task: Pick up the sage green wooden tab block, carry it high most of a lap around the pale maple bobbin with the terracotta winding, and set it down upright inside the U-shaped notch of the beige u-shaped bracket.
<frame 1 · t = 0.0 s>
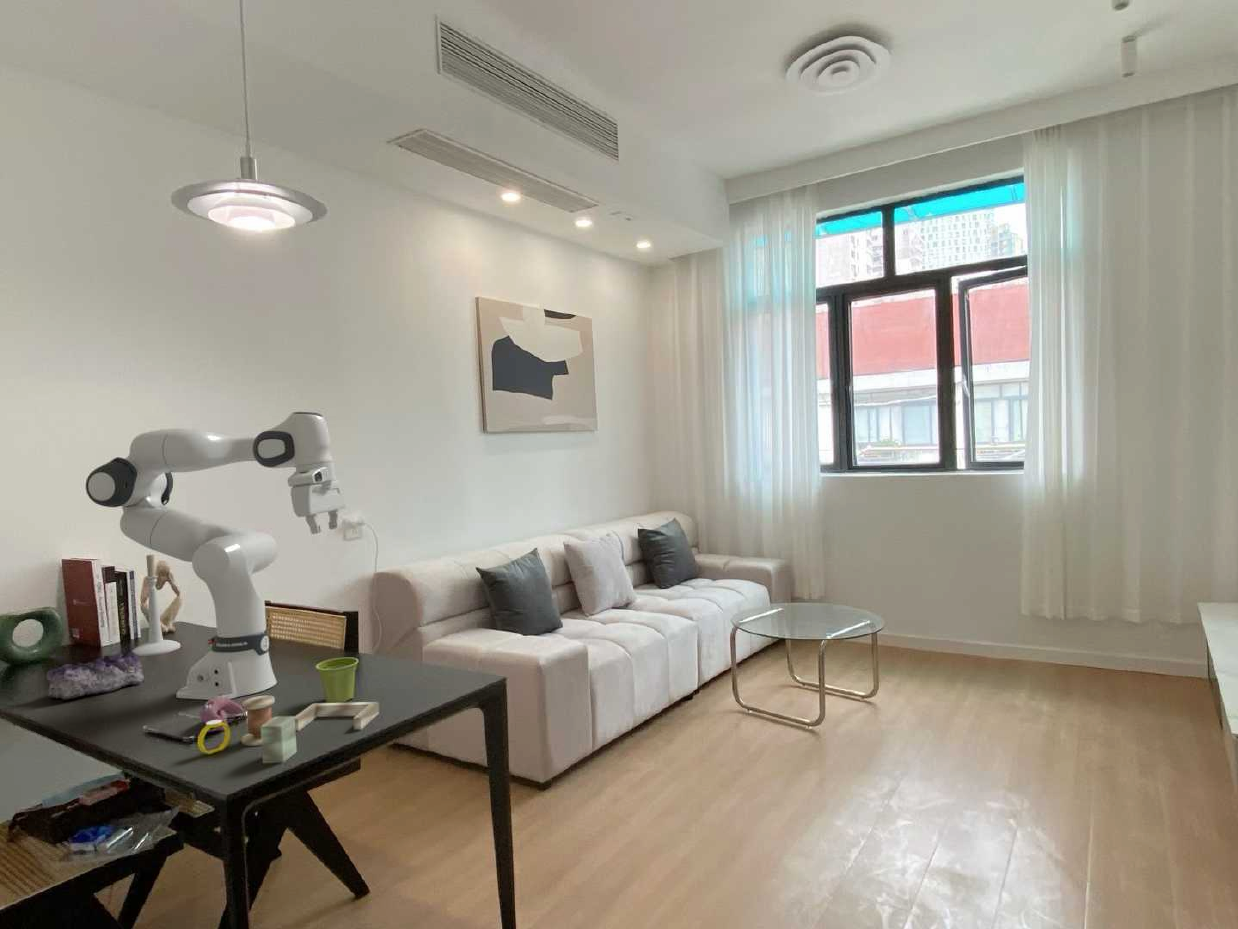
hand: (325, 531, 184), 39 cm above the table, fingers open, 8 cm apart
bobbin: (260, 739, 153), on the table
candlestick: (156, 650, 230), on the table
plant pot: (339, 700, 175), on the table
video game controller: (222, 725, 163), on the table
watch: (215, 753, 147), on the table
beige u-shaped bracket: (335, 723, 160), on the table
tab block: (280, 757, 143), on the table
geode: (98, 692, 191), on the table
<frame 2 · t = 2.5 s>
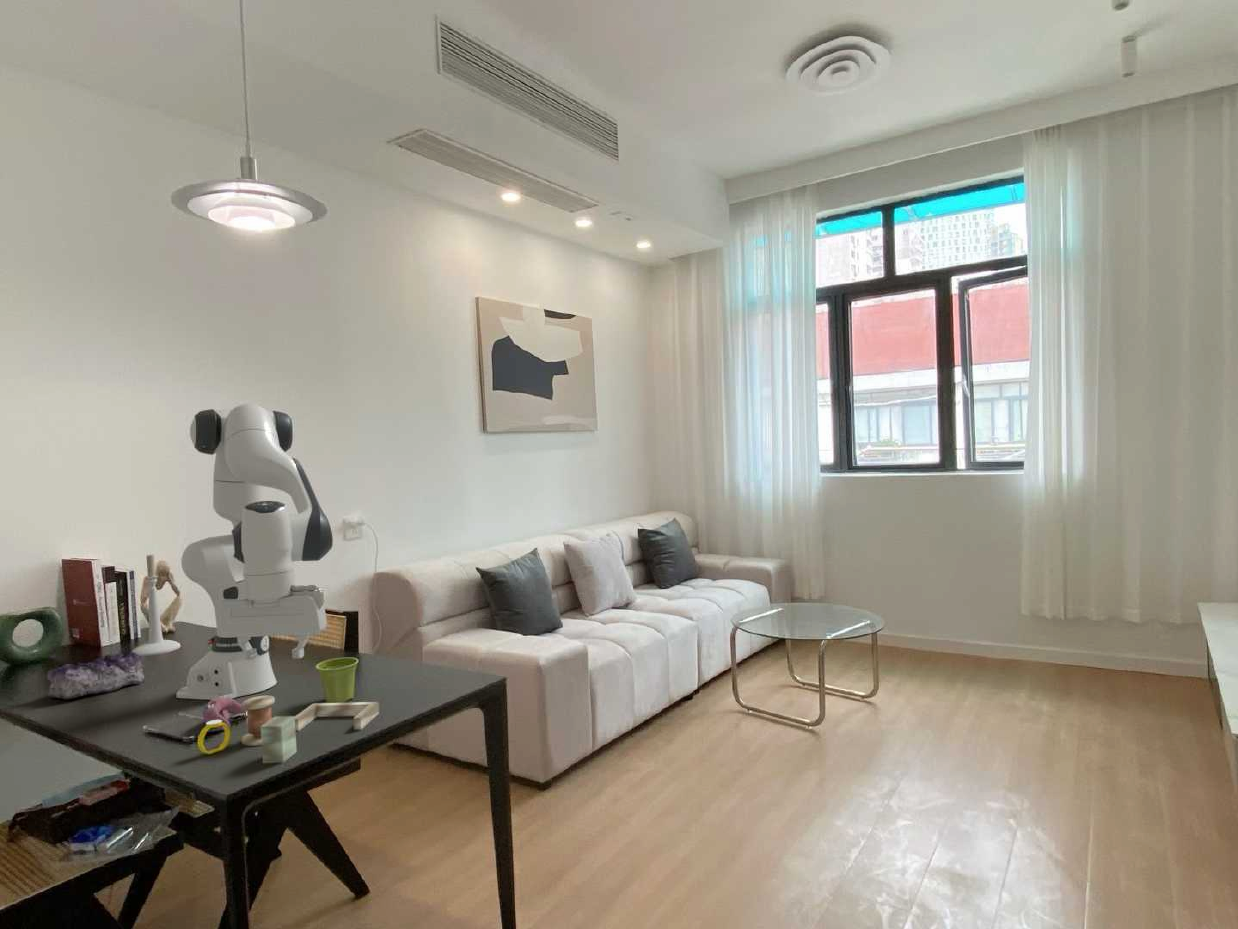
hand: (274, 658, 142), 19 cm above the table, fingers open, 8 cm apart
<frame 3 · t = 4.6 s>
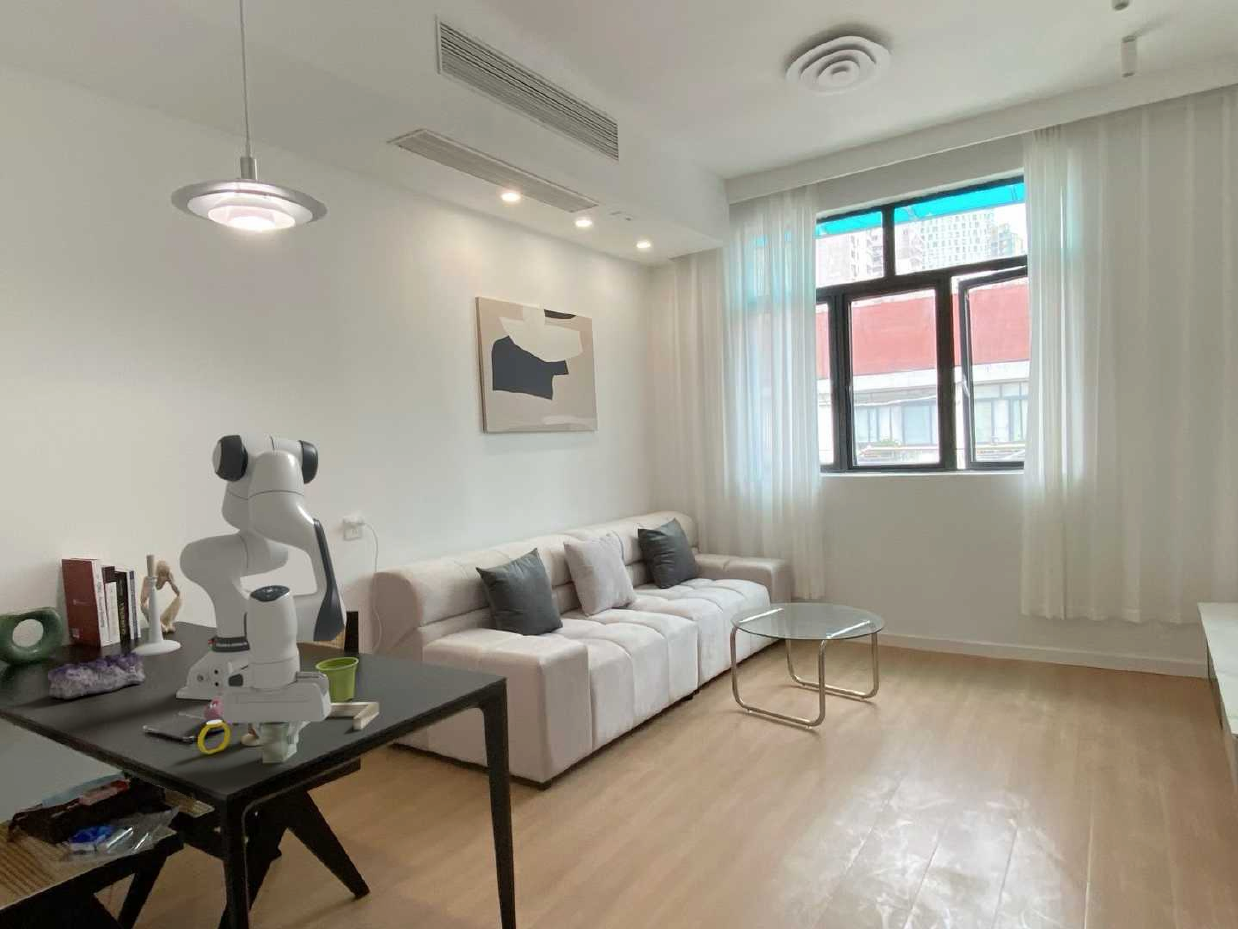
hand: (279, 743, 143), 3 cm above the table, fingers closed on tab block, 4 cm apart
tab block: (280, 757, 143), on the table, touching gripper
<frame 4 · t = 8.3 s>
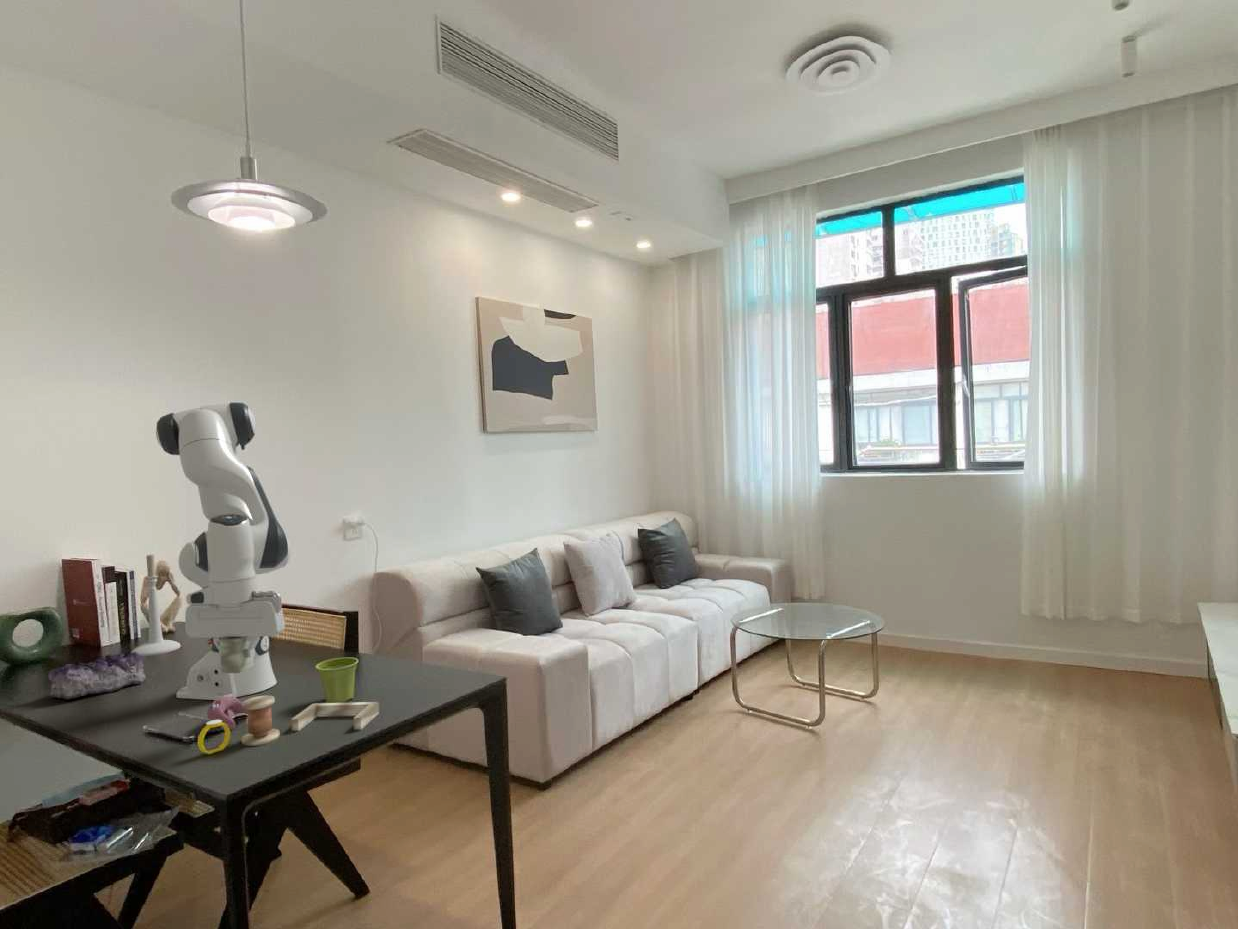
hand: (237, 657, 157), 16 cm above the table, fingers closed on tab block, 4 cm apart
tab block: (237, 669, 157), point 13 cm above the table, touching gripper
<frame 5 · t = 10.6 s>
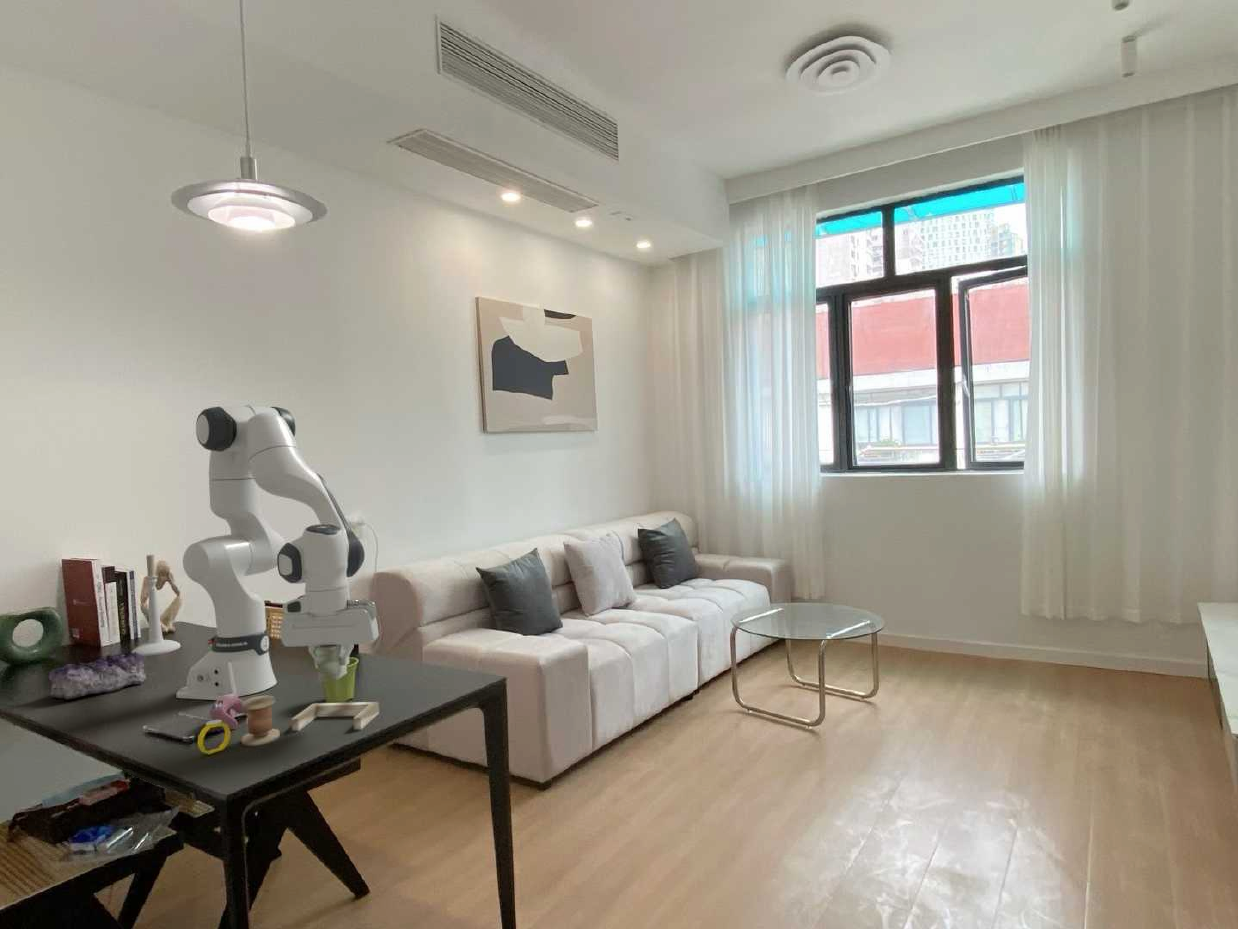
hand: (332, 665, 159), 13 cm above the table, fingers closed on tab block, 4 cm apart
tab block: (332, 677, 159), point 10 cm above the table, touching gripper
when the fingers open (4 cm above the table, at t = 12.3 s): tab block drops 2 cm, on the table.
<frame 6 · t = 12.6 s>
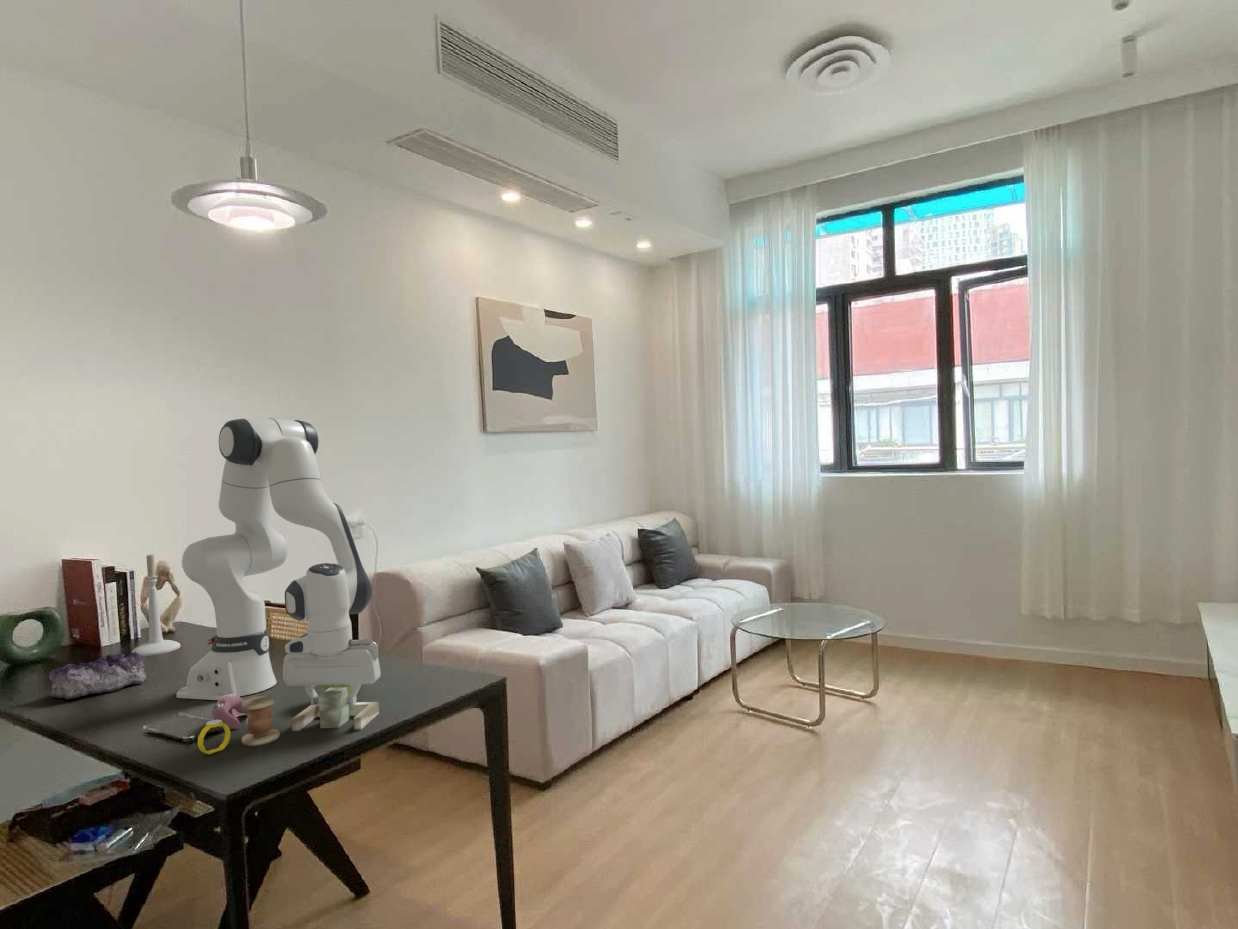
hand: (334, 704, 160), 4 cm above the table, fingers open, 6 cm apart
tab block: (335, 723, 160), on the table
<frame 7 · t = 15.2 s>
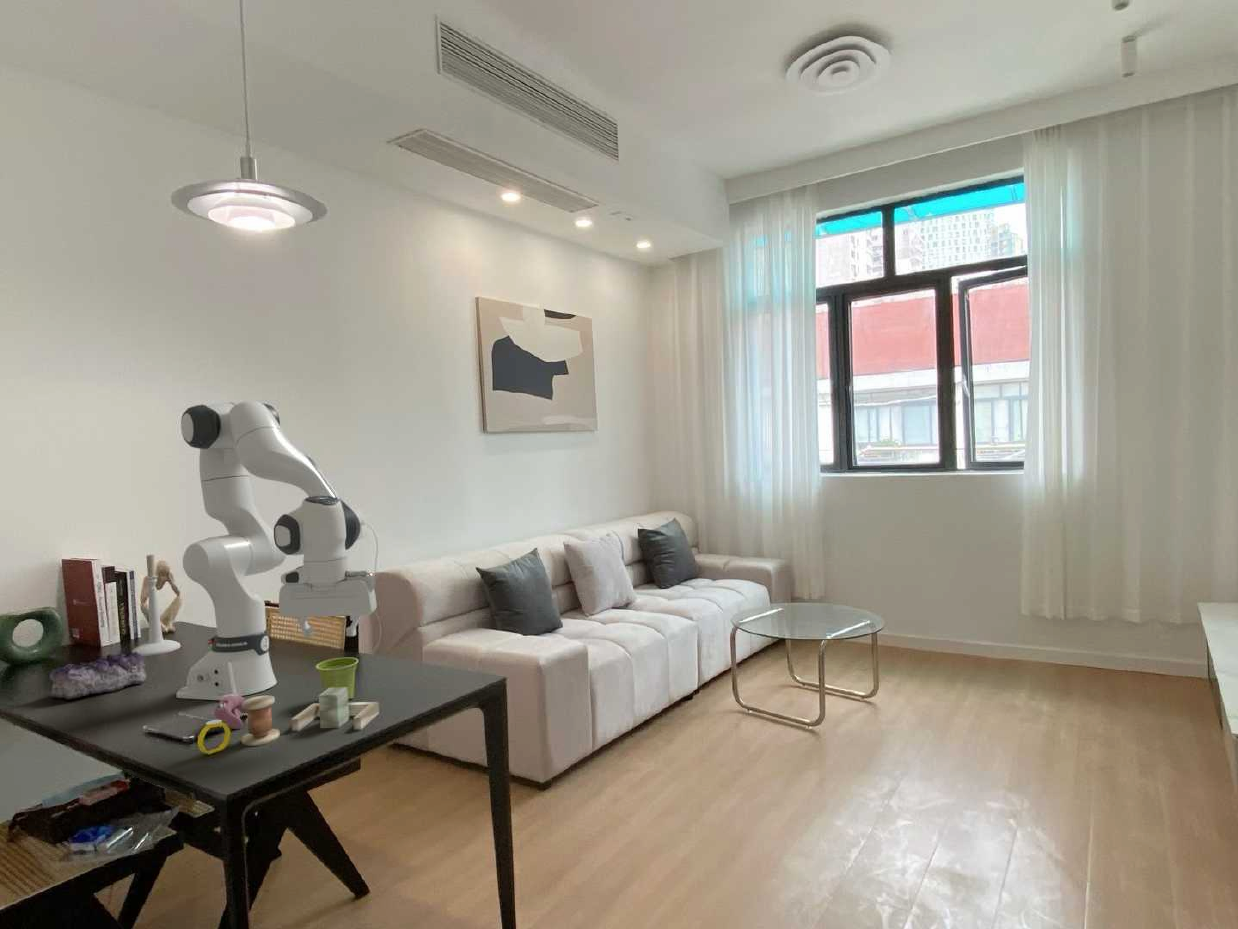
hand: (330, 636, 159), 19 cm above the table, fingers open, 8 cm apart
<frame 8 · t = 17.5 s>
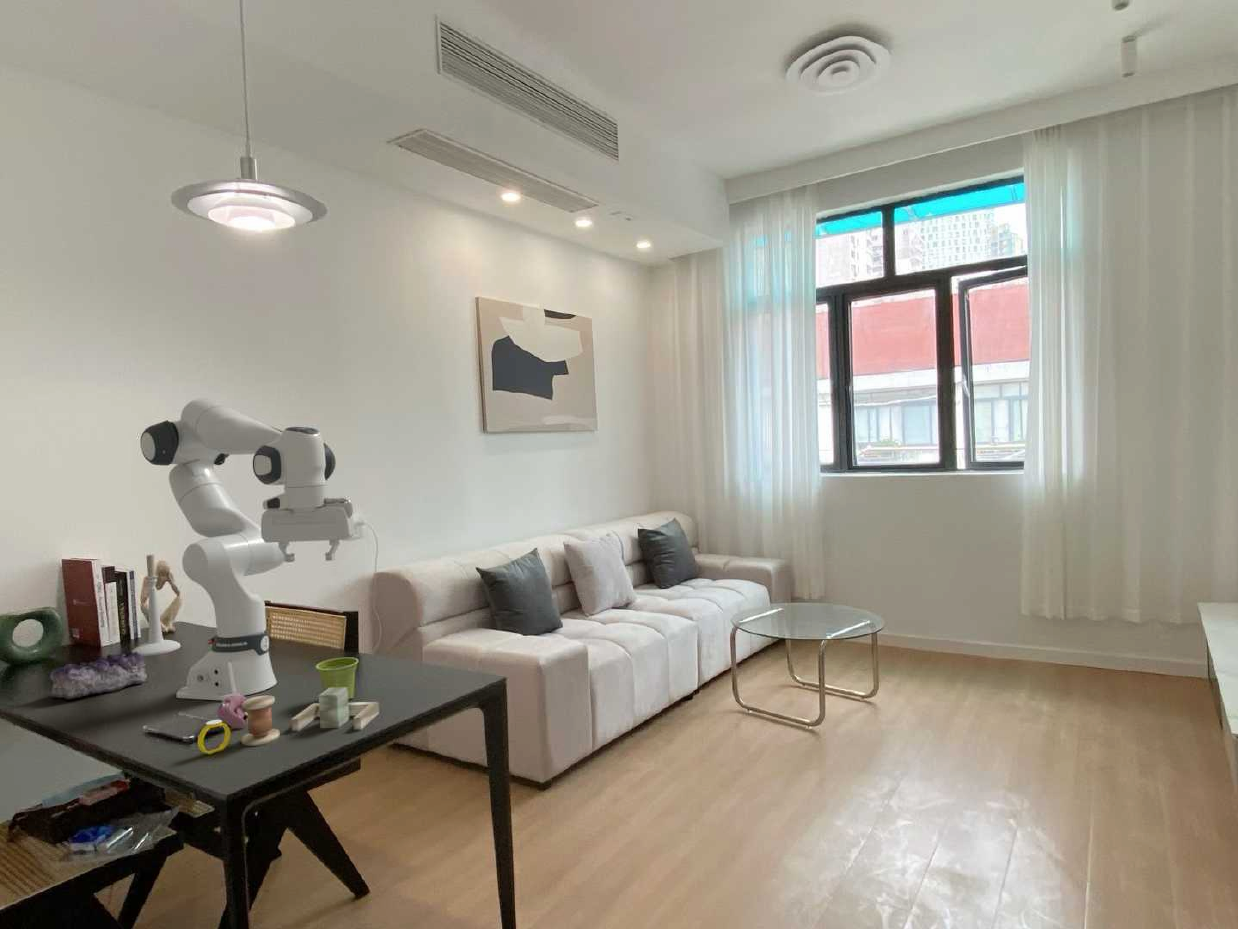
hand: (310, 561, 166), 34 cm above the table, fingers open, 8 cm apart
at the end: tab block inside the target area on the beige u-shaped bracket (0.4 cm from its centre), point 0.0 cm above the beige u-shaped bracket's base; tab block tilted 0°; the gripper is holding nothing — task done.
